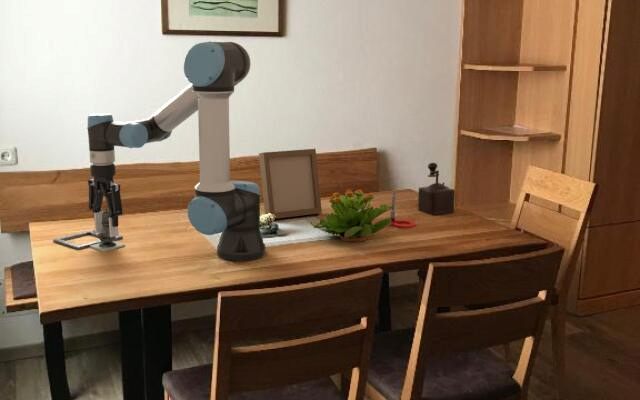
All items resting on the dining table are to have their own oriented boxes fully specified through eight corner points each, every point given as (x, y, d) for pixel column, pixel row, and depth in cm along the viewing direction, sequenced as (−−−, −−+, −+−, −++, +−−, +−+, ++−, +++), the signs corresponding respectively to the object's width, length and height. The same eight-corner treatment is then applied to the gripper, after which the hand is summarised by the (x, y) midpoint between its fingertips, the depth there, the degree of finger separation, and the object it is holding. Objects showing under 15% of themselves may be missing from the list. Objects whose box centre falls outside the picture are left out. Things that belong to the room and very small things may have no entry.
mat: (125, 246, 226) (125, 244, 226) (104, 251, 220) (104, 250, 220) (110, 241, 230) (110, 240, 230) (89, 247, 224) (89, 245, 224)
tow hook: (416, 224, 258) (392, 221, 261) (419, 190, 255) (395, 187, 258) (412, 230, 250) (386, 226, 253) (415, 195, 247) (389, 192, 250)
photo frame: (321, 215, 268) (322, 150, 262) (270, 221, 258) (270, 154, 252) (303, 207, 281) (304, 145, 275) (253, 213, 270) (253, 149, 265)
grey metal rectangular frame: (122, 238, 235) (122, 235, 234) (78, 249, 221) (77, 246, 221) (97, 231, 243) (97, 228, 243) (53, 241, 230) (53, 238, 230)
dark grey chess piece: (111, 248, 222) (110, 212, 219) (94, 246, 223) (93, 210, 220) (120, 243, 227) (119, 207, 224) (103, 241, 228) (102, 205, 225)
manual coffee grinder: (455, 213, 274) (458, 167, 270) (433, 216, 269) (435, 169, 265) (431, 204, 288) (434, 161, 284) (409, 207, 283) (411, 163, 279)
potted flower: (346, 224, 255) (347, 177, 251) (404, 235, 242) (406, 186, 238) (306, 240, 235) (306, 189, 231) (366, 253, 222) (367, 199, 218)
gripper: (73, 161, 222) (78, 231, 227) (112, 168, 210) (116, 242, 215) (94, 158, 228) (98, 226, 233) (132, 165, 216) (136, 237, 221)
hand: (106, 233), depth 224 cm, fingers open, 7 cm apart
